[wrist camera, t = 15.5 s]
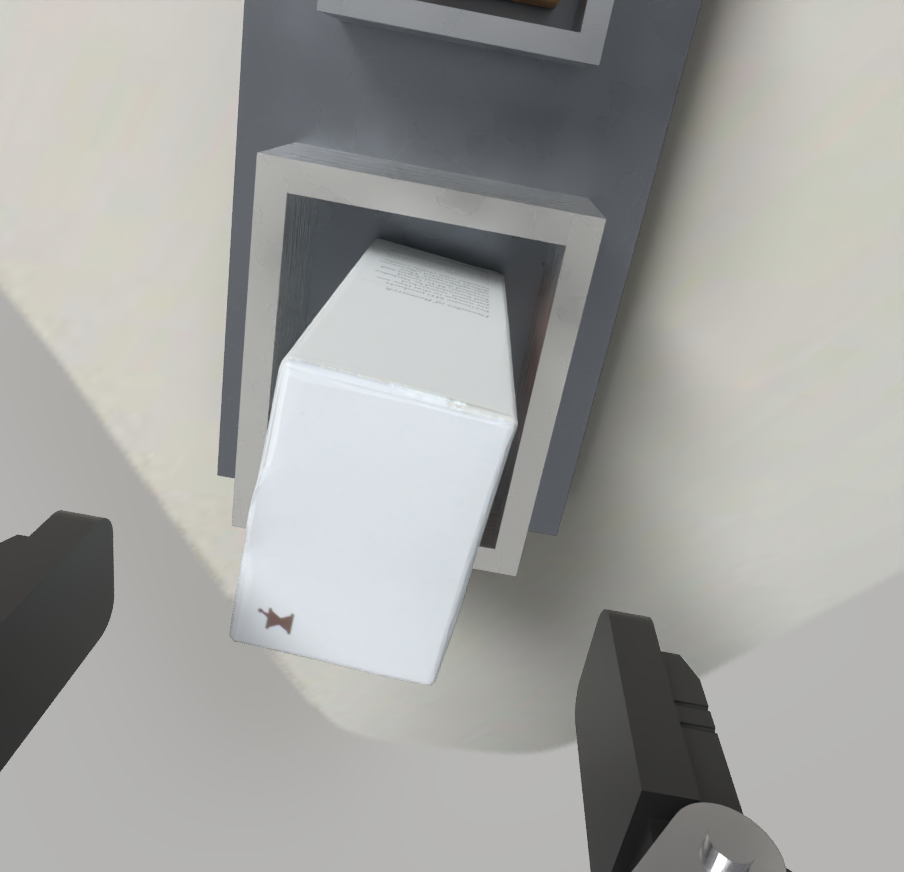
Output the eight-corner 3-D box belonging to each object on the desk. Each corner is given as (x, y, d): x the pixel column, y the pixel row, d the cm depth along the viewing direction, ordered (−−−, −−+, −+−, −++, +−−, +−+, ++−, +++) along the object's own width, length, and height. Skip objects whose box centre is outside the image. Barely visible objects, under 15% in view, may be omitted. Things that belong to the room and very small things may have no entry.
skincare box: (459, 442, 26) (433, 699, 15) (334, 410, 26) (216, 647, 15) (511, 267, 24) (526, 423, 13) (374, 229, 23) (268, 354, 12)
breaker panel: (765, -314, 20) (882, -487, 14) (551, 501, 30) (566, 604, 24) (297, -412, 19) (211, -632, 13) (238, 445, 29) (173, 536, 23)
